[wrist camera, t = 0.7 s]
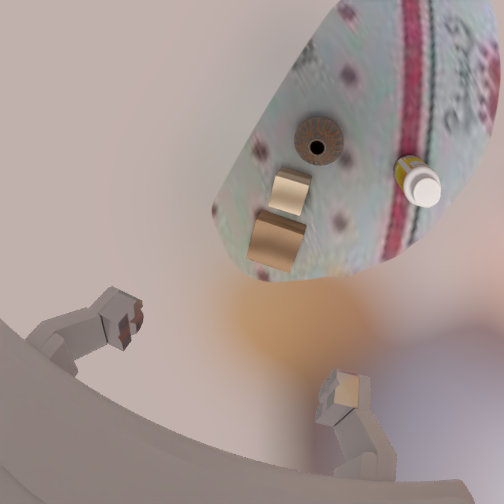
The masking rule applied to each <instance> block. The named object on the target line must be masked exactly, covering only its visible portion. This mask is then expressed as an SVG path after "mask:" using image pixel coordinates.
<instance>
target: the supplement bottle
mask: <svg viewBox="0 0 504 504" xmlns="http://www.w3.org/2000/svg"><path fill="white" fill-rule="evenodd" d="M394 176H395V179H396V181H397V183H398V184H399V186H400V188H401V189H402V191H403V193H404V194H405V196H406V197H407V199H408V200H409V201H410V202H411V203H413V204H414V205H417V206H422V207H426V208H427V207H432V206H434V205H435V204H436V203H437V202H438V201H439V199H440V196H441V183H440V179H439V177H438V175H437V174H436V173H435V171H434V170H432V169H431V168H430V167H429V166H428V165H427V164H426V163H425V162H423V161H422V160H421V159H420V158H418V157H417V156H414V155H406V156H403V157H401V158H400V159H399V160H398V161H397V162H396V164H395V167H394Z"/></svg>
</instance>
